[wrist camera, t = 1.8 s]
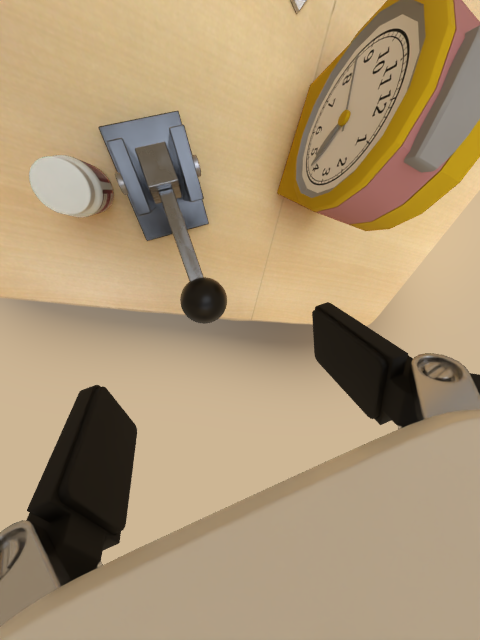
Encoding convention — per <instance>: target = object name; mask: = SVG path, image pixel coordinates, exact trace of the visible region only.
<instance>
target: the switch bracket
mask: <svg viewBox="0 0 480 640" xmlns="http://www.w3.org/2000/svg"><path fill="white" fill-rule="evenodd" d="M99 130H100V132H101V135H102V137H103V139H104V142H105V144H106V146H107V149H108V151H109V153H110V156H111V158H112V160H113V163H114V165H115V168H116V170H117V172H118V173H116V174H115V176H116V179H117V182H118V184H119V186H120V188H121V190H122V192H123V194H124V195H127V196H128V198H129V200H130V203H131V205H132V207H133V210H134V212H135V214H136V217H137V219H138V221H139V224H140V226H141V229H142V231H143V233H144V236H145V238H146V240H147V241H149V240H153V239H156V238H160V237H163V236H167V235H170V234H173V232H172V230H171V227H170V224H169V221H168V218H167V215H166V213H165V210H164V207H163V204H162V202H161V203H157V204H155V202H154V200H153V197H152V195H151V193H150V191H149V188H148V186H147V183H146V180H145V177H144V175H143V172H142V169H141V166H140V163H139V160H138V158H137V155H136V152H135V148H138V147H143V146H147V145H152V144H156V143H161V142H165V143H166V145H167V148H168V151H169V154H170V157H171V160H172V163H173V165H174V168H175V171H176V174H177V177H178V180H179V185H180V190H181V195H182V197H181V198H177V202H178V205H179V208H180V211H181V213H182V216H183V219H184V222H185V225H186V228H187V230H188V229H192V228H195V227H199V226H202V225H206V224H209V222H208V219H207V215H206V211H205V208H204V204H203V200H202V199H204V198H203V194H202V190H201V187H200V183H199V179H198V177H199V176H201V170H200V165H199V162H198V159H197V156H196V155H192V153H191V149H190V145H189V142H188V138H187V134H186V130H185V127H184V125H182V123H181V119H180V115H179V112H178V111H174V112H169V113H164V114H159V115H154V116H149V117H144V118H139V119H135V120H130V121H125V122H120V123H115V124H110V125H105V126H100V127H99Z"/></svg>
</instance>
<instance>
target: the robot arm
mask: <svg viewBox="0 0 480 640" xmlns="http://www.w3.org/2000/svg"><path fill="white" fill-rule="evenodd" d="M312 316H313V332H314V352H315V357H316V360H317V361H318V362H319V364H320V365H321V366H322V367H323V368H324V369H325V370H326V371H327V372H328V373H329V374H330V376H332V378H333V379H334V380H335V381H336V382H337V383H338V384H339V385H340V387H341V388H342V389H343V390H344V391H345V392H346V393H347V394H348V395H349V396H350V397H351V398H352V400H353V401H354V402H355V403H356V404H357V405H358V406H359V407H360V408H361V409H362V410H363V412H364V413H365V414H366V415H367V416H368V417H370V418H372V419H375V420H376V421H377V422H378V423H379V424H380V425H382V424H384V423H386V422H388V421H391V420H392V421H393V422H394V423H395V424H396V425H398V430H397V431H394V432H392V433H390V434H387V435H385V436H383V437H380V438H378V439H375V440H373V441H371V442H369V443H367V444H364V445H362V446H360V447H358V448H355V449H353V450H351V451H349V452H346V453H344V454H342V455H340V456H338V457H335V458H333V459H331V460H329V461H327V462H324V463H322V464H320V465H318V466H316V467H313V468H312V469H309V470H307V471H305V472H302V473H300V474H298V475H296V476H294V477H291V478H289V479H287V480H285V481H283V482H281V483H278V484H276V485H274V486H272V487H270V488H267V489H265V490H263V491H261V492H259V493H257V494H254V495H253V496H250V497H248V498H246V499H244V500H241V501H239V502H237V503H235V504H233V505H231V506H229V507H226V508H224V509H222V510H220V511H218V512H215V513H213V514H211V515H209V516H207V517H204V518H202V519H200V520H198V521H196V522H194V523H192V524H190V525H187V526H185V527H183V528H181V529H179V530H177V531H174V532H172V533H170V534H168V535H166V536H164V537H162V538H160V539H157V540H155V541H153V542H151V543H149V544H146V545H144V546H142V547H140V548H138V549H136V550H134V551H132V552H129V553H127V554H126V555H123V556H121V557H119V558H117V559H115V560H113V561H111V562H109V563H107V564H105V565H103V564H102V562H101V555H102V551H103V550H105V549H107V548H109V547H112V546H114V545H116V544H118V543H119V540H120V534H121V531H122V530H123V529H124V527H125V524H126V517H127V509H128V501H129V493H130V485H131V477H132V469H133V461H134V453H135V445H136V437H137V428H136V425H135V424H134V423H133V421H132V420H131V419H130V418H129V416H128V415H127V414H126V413H125V411H124V410H123V409H122V408H121V406H120V405H119V404H118V403H117V401H116V400H115V399H114V397H113V396H112V395H111V394H110V392H109V391H108V390H107V389H106V388H105V387H100V386H99V385H95V386H92V387H89V388H87V389H84V390H81V391H80V393H79V394H78V397H77V399H76V401H75V403H74V406H73V408H72V410H71V412H70V415H69V417H68V419H67V421H66V424H65V426H64V428H63V430H62V433H61V435H60V437H59V440H58V441H57V444H56V446H55V448H54V451H53V453H52V455H51V457H50V459H49V462H48V464H47V466H46V468H45V471H44V473H43V475H42V478H41V480H40V482H39V484H38V487H37V489H36V491H35V493H34V495H33V498H32V500H31V502H30V504H29V507H28V509H27V511H28V512H30V513H29V516H28V518H27V520H26V521H23V520H22V521H19V522H16V523H14V524H12V525H10V526H9V527H7V528H5V529H4V530H3V531H2V532H0V640H480V375H477V374H471V373H469V371H468V370H467V369H466V367H465V366H464V365H462V364H461V363H460V362H458V361H456V360H454V359H452V358H450V357H447V356H444V355H439V354H434V353H432V354H431V353H426V354H421V355H418V356H416V357H414V359H413V358H411V357H409V356H408V353H406V352H405V351H403V350H402V349H400V348H399V347H397V346H396V345H394V344H392V343H391V342H389V341H388V340H386V339H385V338H383V337H382V336H380V335H379V334H377V333H375V332H374V331H373V330H371V329H369V328H368V327H366V326H365V325H363V324H362V323H360V322H359V321H357V320H356V319H354V318H353V317H351V316H349V315H348V314H346V313H345V312H343V311H342V310H340V309H339V308H337V307H336V306H334V305H332V304H331V303H329V302H327V303H324V304H321V305H319V306H316V307H315V310H314V311H313V312H312Z"/></svg>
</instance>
